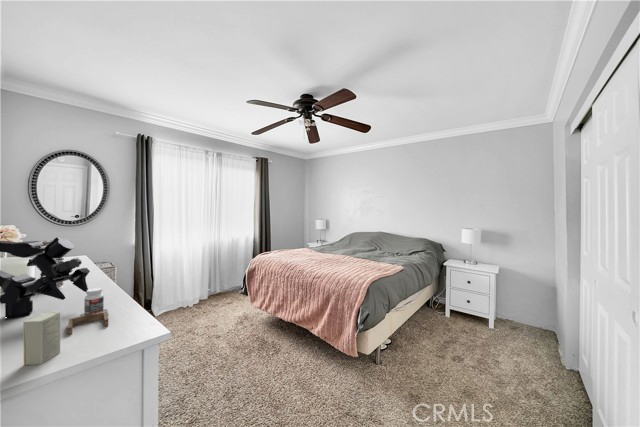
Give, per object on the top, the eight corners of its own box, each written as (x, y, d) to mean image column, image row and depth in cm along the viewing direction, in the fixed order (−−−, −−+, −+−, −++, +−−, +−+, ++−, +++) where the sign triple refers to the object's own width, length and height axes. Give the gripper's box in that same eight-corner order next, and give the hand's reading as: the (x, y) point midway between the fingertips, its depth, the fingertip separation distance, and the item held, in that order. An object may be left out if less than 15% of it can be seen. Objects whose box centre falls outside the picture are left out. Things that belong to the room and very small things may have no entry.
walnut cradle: (67, 335, 86) (67, 327, 86) (68, 325, 93) (68, 318, 93) (108, 325, 93) (108, 319, 93) (106, 317, 100) (106, 311, 100)
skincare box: (45, 352, 76) (44, 312, 75) (61, 352, 76) (61, 311, 76) (22, 365, 69) (21, 321, 69) (40, 365, 70) (39, 321, 70)
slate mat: (81, 321, 96) (81, 320, 96) (81, 314, 102) (81, 313, 102) (108, 315, 102) (108, 314, 102) (107, 309, 108) (107, 308, 108)
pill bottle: (92, 318, 99) (92, 292, 99) (80, 316, 100) (80, 291, 100) (107, 312, 104) (107, 288, 104) (96, 310, 105) (95, 286, 105)
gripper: (36, 257, 93) (66, 288, 93) (85, 249, 111) (110, 275, 111) (16, 277, 93) (45, 309, 93) (68, 266, 112) (92, 292, 112)
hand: (76, 294), depth 102 cm, fingers open, 9 cm apart
